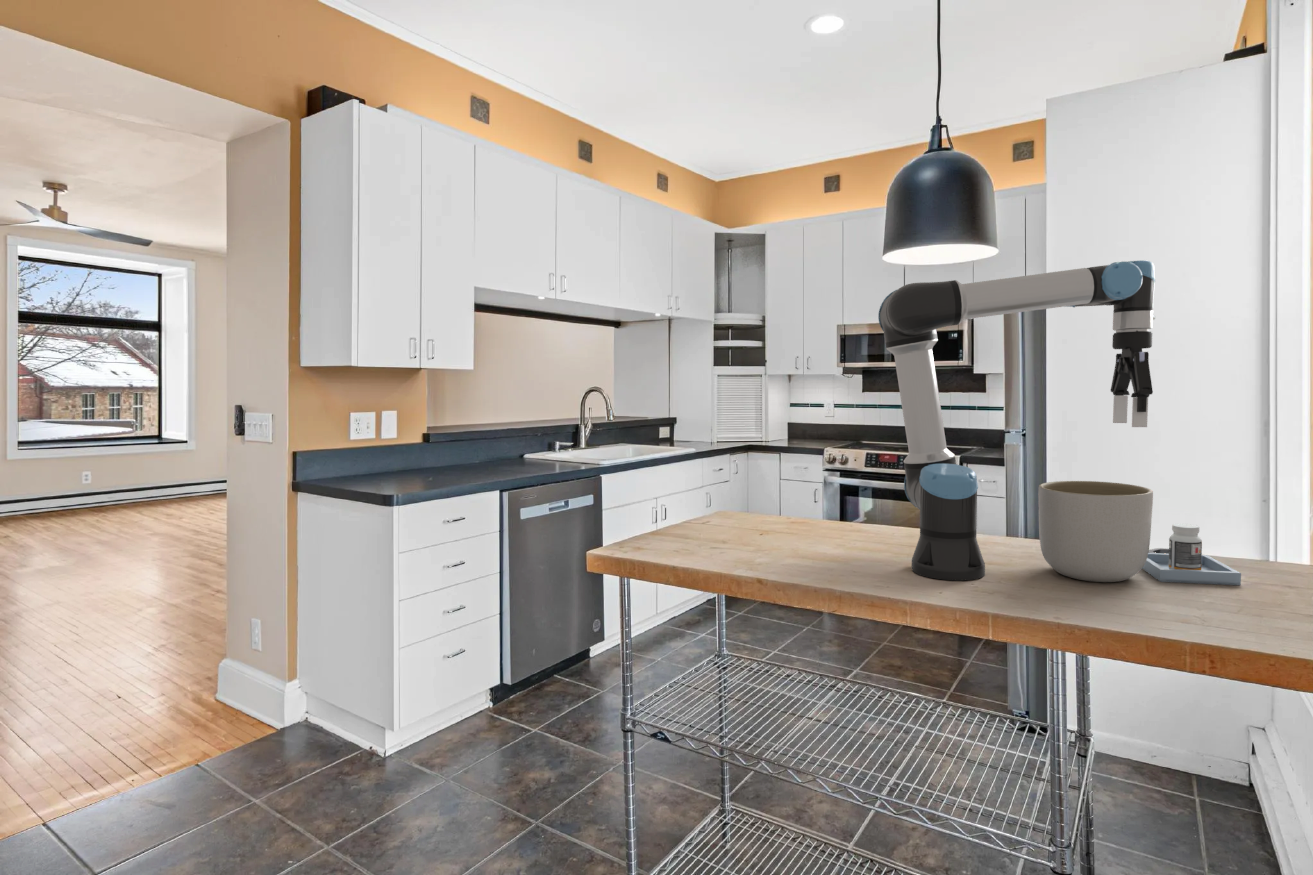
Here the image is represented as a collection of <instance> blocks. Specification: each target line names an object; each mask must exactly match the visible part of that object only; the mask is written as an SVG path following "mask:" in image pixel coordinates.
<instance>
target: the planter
mask: <svg viewBox="0 0 1313 875" xmlns="http://www.w3.org/2000/svg"><path fill="white" fill-rule="evenodd" d="M1037 493H1038V500H1037V501H1038V533H1039V544H1040V546H1039V547H1040V550H1041V554H1042V557H1043V558H1044V560H1045V561H1046V562H1047V564H1048V565H1049V566H1050V567H1051V568H1052V569H1053V570H1054V571H1056V572H1057V573H1059V574H1061V575H1062V576H1064V577H1067V578H1072V579H1076V580H1080V581H1087V582H1094V583H1116V582H1117V583H1118V582H1123V581H1126V580H1128V579H1130V578H1132V577H1133V576H1135V575H1137V574H1138V573H1139V572H1140V571H1141V570H1143V569H1142V568H1143V567H1144V565H1145V563H1146V560H1147V557H1148V552H1149V550H1150V547H1151V546H1150V544H1151V533H1152V518H1153V505H1154V491H1153V490H1152V489H1151V488H1148V487H1145V486H1141V485H1134V484H1129V483H1128V484H1127V483H1122V482H1121V483H1120V482H1111V481H1109V482H1108V481H1096V480H1093V481H1092V480H1059V481H1048V482H1043V483H1041V484H1040V483H1039V485H1038V492H1037Z"/></svg>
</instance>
